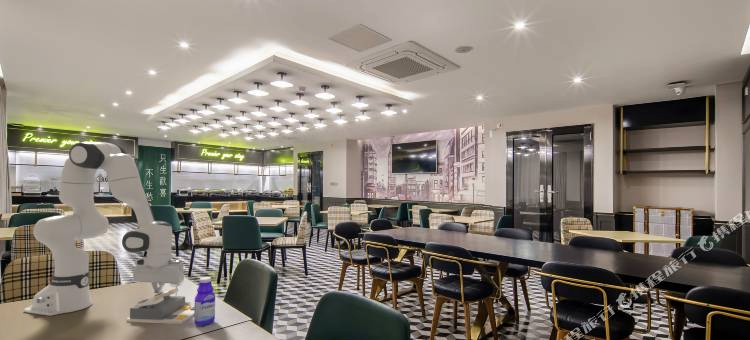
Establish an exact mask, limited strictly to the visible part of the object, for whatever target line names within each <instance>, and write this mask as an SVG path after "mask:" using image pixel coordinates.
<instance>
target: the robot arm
mask: <svg viewBox="0 0 750 340" xmlns="http://www.w3.org/2000/svg"><path fill="white" fill-rule="evenodd" d="M100 169H101V170H103V171H104V172H105V174H106V178H107V181H108V187H109V190H110V193H111V194H112V196H113V198H114V199H116V200H118V201H119V202H121V203H125V204H127V205H128V206H130V207H131V208H132V210H133V212H134V213H135V216H136V220H137V222H138V227H139V228H134V229H132V230H129V231H128V232H126V233H125V234H124V235H123V236H122V239H121V244H122V247H123V249H124V250H125V251H126V252H128V253H131V254H137V253H141V252H147V253H146V254H147V255H146V256H143V257H140V258H137V259H135V260H134V267H133V270H132V271H133V272H132V280H133V282H134V283H137V282H138V283H151V286H152V289H153V293H154V294H158V293H161V292H163V288H164V286H165V285H166V284H170V283H171V284H179V283H181V282H182V281H183V280H185V273H184V266H185V265H184V263H183V262H182V261H181V260H172V255H173V253H172V252H173V251H172V244H173V228H172V225H171V224H170V223H169V222H166V221H163V220H155V215H154V212H153V210H152V207H151V203H150V201H149V199H148V197H147V194H146V193H145V190H144V187H143V184H142V180H141V177H140V172H139V168H138V166H137V164H136V162H135V159H134V158H133V156H131V155H130V154H127V152H126V150H125V148H124V147H122V145H120V144H117V143H113V142H112V143H110V142H106V141H81V142H77V143H75V144H73V145H71V147H70V149H69V152H68V158H67V159H66V160H65V162H64V165H63V167H62V170H61V175H60V184H59V195H58V200H59V201H60V202H61V203H62V204H63V205H65V206H67V207H70V208H72V214H65V215H53V216H49V217H45V218H42V219H39V220H38V221H37V222H36V223H35V224H34V226H33V230H32V232H33V234H32V235H33V237H34V238H35V240H36V241H37V242H38V243H41V244H43V245H44V246H46V247H47V248H48V249H49V250H50V251H51V253H52V256H53V263H54V271H53V272H54V274H53V275H51V276H49V277H47V281H50V282H49V284H48V285H47V286H46V287H44V288H42V289H41V290H40V291H38V292H37V293H36V294H34V295H33V299H32V303H31V305H29V306H27V307H25V308H24V309H23V313H30V314H37V315H42V316H50V317H51V316H56V315H59V314H66V313H72V312H77V311H81V310H83V309H86V308H89V307H91V306H92V305H93V301H92V299H91V293H90V292H91V291H90V284H89V283H90V278H91V277H90V276H91V273H90V270H89V269H90V268H89V267H90V266H89V265H90V264H89V263H90V255H89V253H88V252H87V251H86V250H84V249H82V248H78V247H77V246H76V243H75V242H76V241H80V240H81V241H82V240H88V239H94V238H96V237H100V236H103V235H105V234H106V233H107V231H108V229H109V226H110V224H109V223H110V222H109V219H108V218H107V217H106V216H105V215H104V214H103V213H102V212H100V211H99V209H98V208H97V206H96V203H95V199H94V195H95V194H94V193H95V192H94V191H95V179H96V178H95V176H96V173H97V172H98V170H100Z"/></svg>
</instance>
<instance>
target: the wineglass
mask: <svg viewBox="0 0 750 340" xmlns="http://www.w3.org/2000/svg"><path fill="white" fill-rule="evenodd" d="M184 280H185V279H184ZM184 280H183V281H182V282H181V283H179V284H171V283H169V286H171V287H172V288H179V287H181V286H183V283H184ZM177 294H178V292H176V293H175V296H178V295H177Z"/></svg>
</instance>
